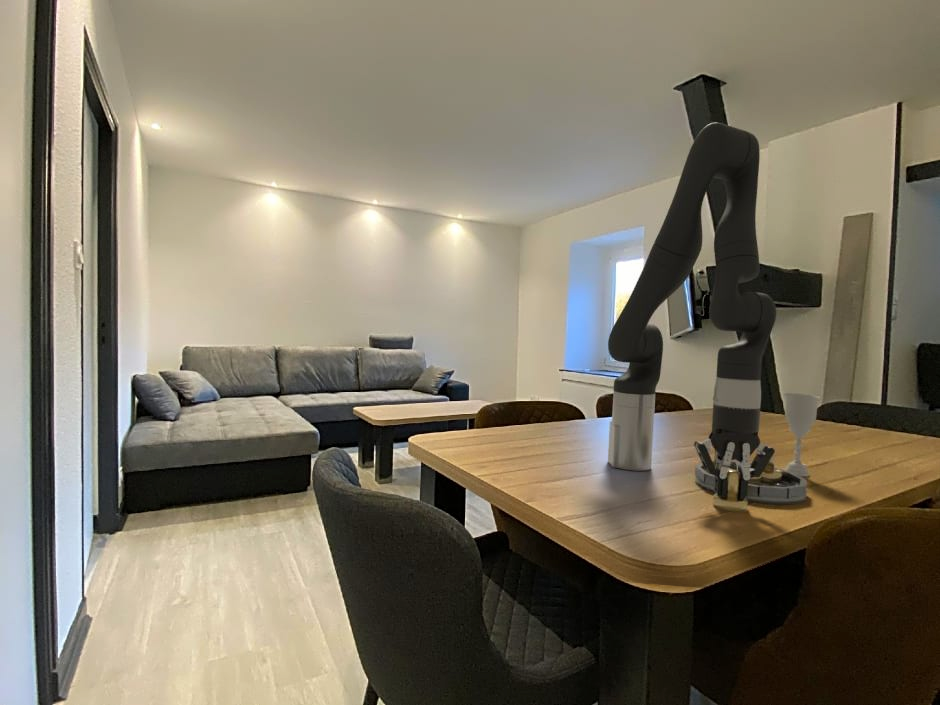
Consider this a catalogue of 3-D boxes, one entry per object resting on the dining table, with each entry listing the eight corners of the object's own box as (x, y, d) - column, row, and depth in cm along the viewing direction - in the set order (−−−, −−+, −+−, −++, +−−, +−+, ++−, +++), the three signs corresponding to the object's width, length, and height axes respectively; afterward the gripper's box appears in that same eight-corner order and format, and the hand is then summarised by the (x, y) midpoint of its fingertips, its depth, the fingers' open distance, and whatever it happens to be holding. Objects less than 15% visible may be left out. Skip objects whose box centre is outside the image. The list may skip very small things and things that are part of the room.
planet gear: (720, 511, 89) (722, 474, 89) (707, 500, 95) (709, 465, 95) (753, 513, 89) (755, 476, 89) (738, 502, 94) (741, 467, 94)
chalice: (771, 468, 120) (776, 393, 119) (798, 468, 121) (804, 393, 120) (794, 477, 113) (799, 397, 112) (822, 478, 113) (828, 398, 112)
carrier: (717, 500, 95) (720, 459, 95) (681, 471, 115) (683, 437, 114) (829, 507, 93) (832, 465, 93) (773, 476, 113) (776, 441, 113)
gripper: (704, 404, 88) (698, 502, 89) (788, 408, 87) (781, 508, 88) (689, 398, 95) (683, 489, 96) (766, 402, 94) (760, 494, 95)
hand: (730, 497), depth 92 cm, fingers closed on planet gear, 2 cm apart
